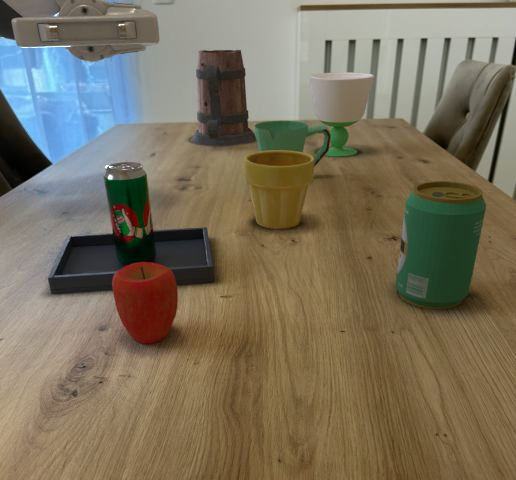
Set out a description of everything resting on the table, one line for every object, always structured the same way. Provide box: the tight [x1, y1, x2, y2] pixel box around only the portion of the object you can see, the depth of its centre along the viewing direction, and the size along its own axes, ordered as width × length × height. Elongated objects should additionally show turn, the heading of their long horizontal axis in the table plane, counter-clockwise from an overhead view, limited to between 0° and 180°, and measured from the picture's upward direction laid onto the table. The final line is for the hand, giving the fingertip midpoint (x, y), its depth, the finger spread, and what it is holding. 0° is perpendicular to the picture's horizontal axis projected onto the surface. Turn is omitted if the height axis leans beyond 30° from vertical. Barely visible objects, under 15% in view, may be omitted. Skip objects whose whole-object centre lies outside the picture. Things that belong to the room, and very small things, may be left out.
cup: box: [309, 71, 375, 158], centre depth 121 cm, size 14×14×16 cm
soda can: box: [103, 161, 156, 266], centre depth 68 cm, size 5×5×12 cm
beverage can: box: [395, 180, 487, 310], centre depth 60 cm, size 8×8×12 cm
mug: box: [253, 120, 331, 168], centre depth 104 cm, size 15×10×10 cm
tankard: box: [190, 49, 257, 147], centre depth 133 cm, size 24×17×20 cm
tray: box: [47, 226, 215, 295], centre depth 71 cm, size 19×14×2 cm
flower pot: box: [243, 150, 315, 230], centre depth 83 cm, size 10×10×10 cm
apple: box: [112, 262, 179, 345], centre depth 54 cm, size 6×6×8 cm
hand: (88, 32), depth 74 cm, fingers open, 8 cm apart
